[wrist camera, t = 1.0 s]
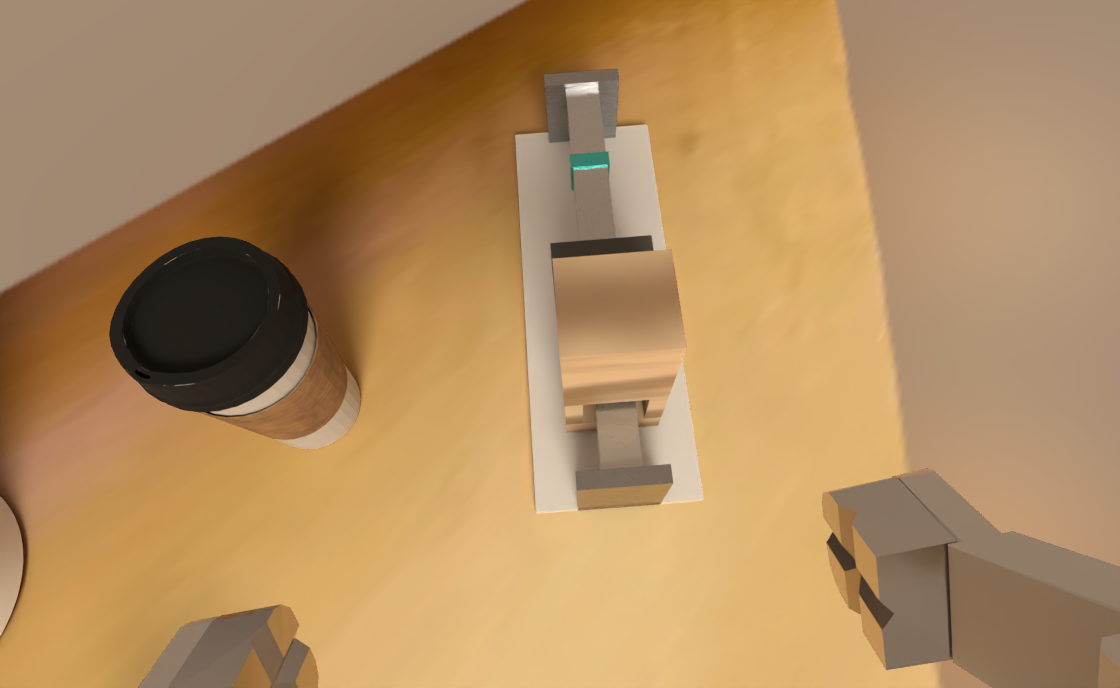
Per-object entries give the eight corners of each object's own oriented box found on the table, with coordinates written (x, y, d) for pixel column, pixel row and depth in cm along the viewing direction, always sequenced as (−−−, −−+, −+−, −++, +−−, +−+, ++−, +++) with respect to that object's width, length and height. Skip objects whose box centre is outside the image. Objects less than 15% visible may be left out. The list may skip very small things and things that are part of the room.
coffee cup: (226, 437, 43) (57, 349, 30) (298, 327, 46) (175, 200, 32) (336, 491, 42) (213, 425, 28) (403, 374, 45) (322, 262, 31)
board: (701, 500, 41) (703, 498, 40) (536, 513, 41) (535, 511, 40) (646, 131, 52) (647, 124, 51) (516, 141, 52) (515, 134, 51)
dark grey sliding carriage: (645, 309, 44) (655, 259, 38) (556, 317, 44) (551, 267, 38) (642, 288, 45) (651, 235, 38) (554, 295, 45) (550, 242, 38)
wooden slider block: (658, 425, 41) (686, 347, 30) (567, 432, 41) (559, 357, 30) (648, 350, 43) (671, 249, 32) (561, 356, 43) (552, 258, 32)
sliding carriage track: (660, 504, 41) (673, 483, 35) (577, 510, 41) (576, 490, 35) (613, 134, 52) (617, 68, 45) (548, 139, 52) (543, 74, 46)
